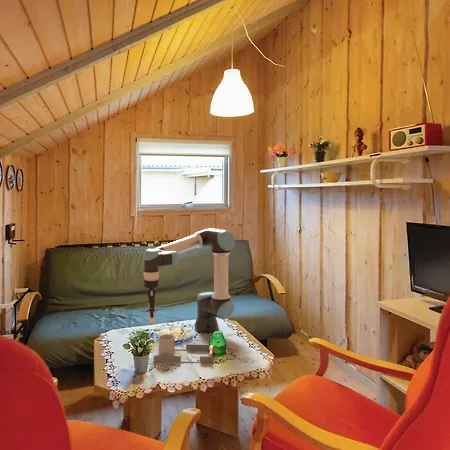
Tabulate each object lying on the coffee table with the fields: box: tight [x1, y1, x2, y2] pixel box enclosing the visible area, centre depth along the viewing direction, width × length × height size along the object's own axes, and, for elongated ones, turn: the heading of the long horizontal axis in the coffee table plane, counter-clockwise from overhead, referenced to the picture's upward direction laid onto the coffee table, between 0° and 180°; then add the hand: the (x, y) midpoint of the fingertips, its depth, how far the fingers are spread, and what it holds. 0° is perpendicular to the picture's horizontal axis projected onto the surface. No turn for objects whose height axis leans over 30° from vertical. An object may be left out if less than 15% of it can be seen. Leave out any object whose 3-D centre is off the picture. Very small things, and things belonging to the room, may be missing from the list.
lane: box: [153, 343, 214, 364], centre depth 216 cm, size 30×16×5 cm, turn 88°
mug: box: [158, 333, 176, 355], centre depth 216 cm, size 12×8×11 cm
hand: (151, 318), depth 212 cm, fingers open, 13 cm apart
